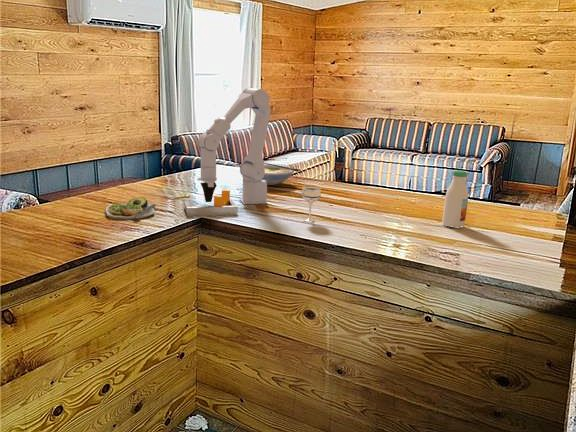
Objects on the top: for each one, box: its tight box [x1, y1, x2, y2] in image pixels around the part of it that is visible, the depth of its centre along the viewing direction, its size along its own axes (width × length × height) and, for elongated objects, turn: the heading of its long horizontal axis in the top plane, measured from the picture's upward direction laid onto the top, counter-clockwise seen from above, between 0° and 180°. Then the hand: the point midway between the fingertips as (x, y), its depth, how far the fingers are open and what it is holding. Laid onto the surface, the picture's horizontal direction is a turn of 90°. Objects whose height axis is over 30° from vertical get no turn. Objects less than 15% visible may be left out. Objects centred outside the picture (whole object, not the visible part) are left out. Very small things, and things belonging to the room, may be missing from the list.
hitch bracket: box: [183, 199, 239, 217], centre depth 193 cm, size 18×12×3 cm, turn 106°
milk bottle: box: [442, 169, 469, 227], centre depth 186 cm, size 8×8×20 cm
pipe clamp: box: [213, 189, 231, 206], centre depth 196 cm, size 12×4×6 cm, turn 170°
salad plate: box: [105, 196, 157, 221], centre depth 185 cm, size 19×18×5 cm
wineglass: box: [301, 185, 322, 221], centre depth 186 cm, size 7×7×12 cm
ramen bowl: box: [262, 162, 302, 186], centre depth 243 cm, size 25×23×8 cm
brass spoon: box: [173, 194, 191, 200], centre depth 212 cm, size 6×2×1 cm, turn 126°
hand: (208, 201), depth 199 cm, fingers closed
